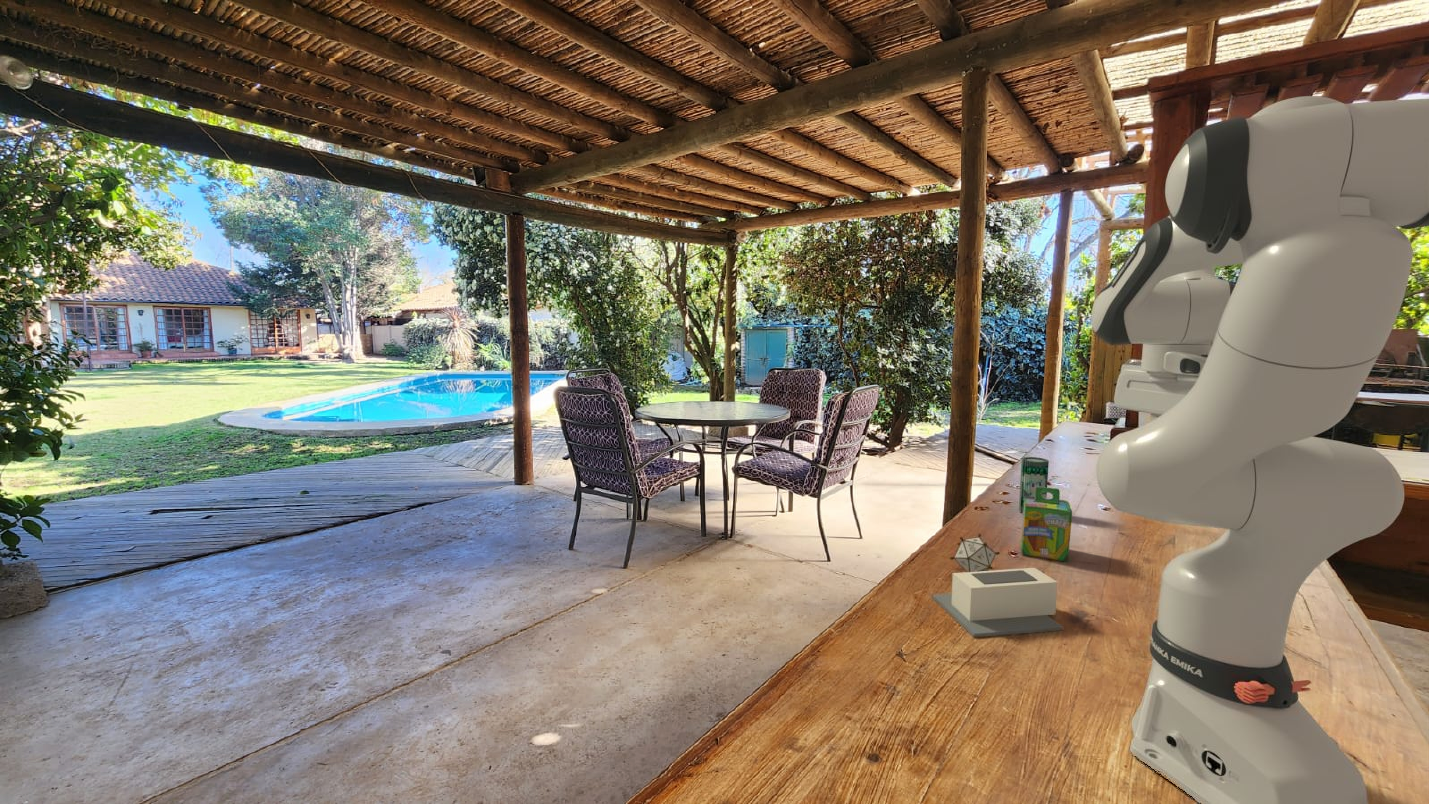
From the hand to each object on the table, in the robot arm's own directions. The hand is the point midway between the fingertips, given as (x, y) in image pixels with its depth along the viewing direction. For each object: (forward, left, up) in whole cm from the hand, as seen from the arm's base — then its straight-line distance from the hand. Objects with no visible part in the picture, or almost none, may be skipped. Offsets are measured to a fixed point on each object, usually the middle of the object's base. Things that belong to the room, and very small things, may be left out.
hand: (1167, 442), depth 96 cm
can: (+53, -15, -31) cm, 63 cm away
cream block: (+4, +18, -28) cm, 33 cm away
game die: (+20, +22, -31) cm, 43 cm away
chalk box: (+28, 0, -31) cm, 42 cm away
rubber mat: (+4, +27, -31) cm, 42 cm away
